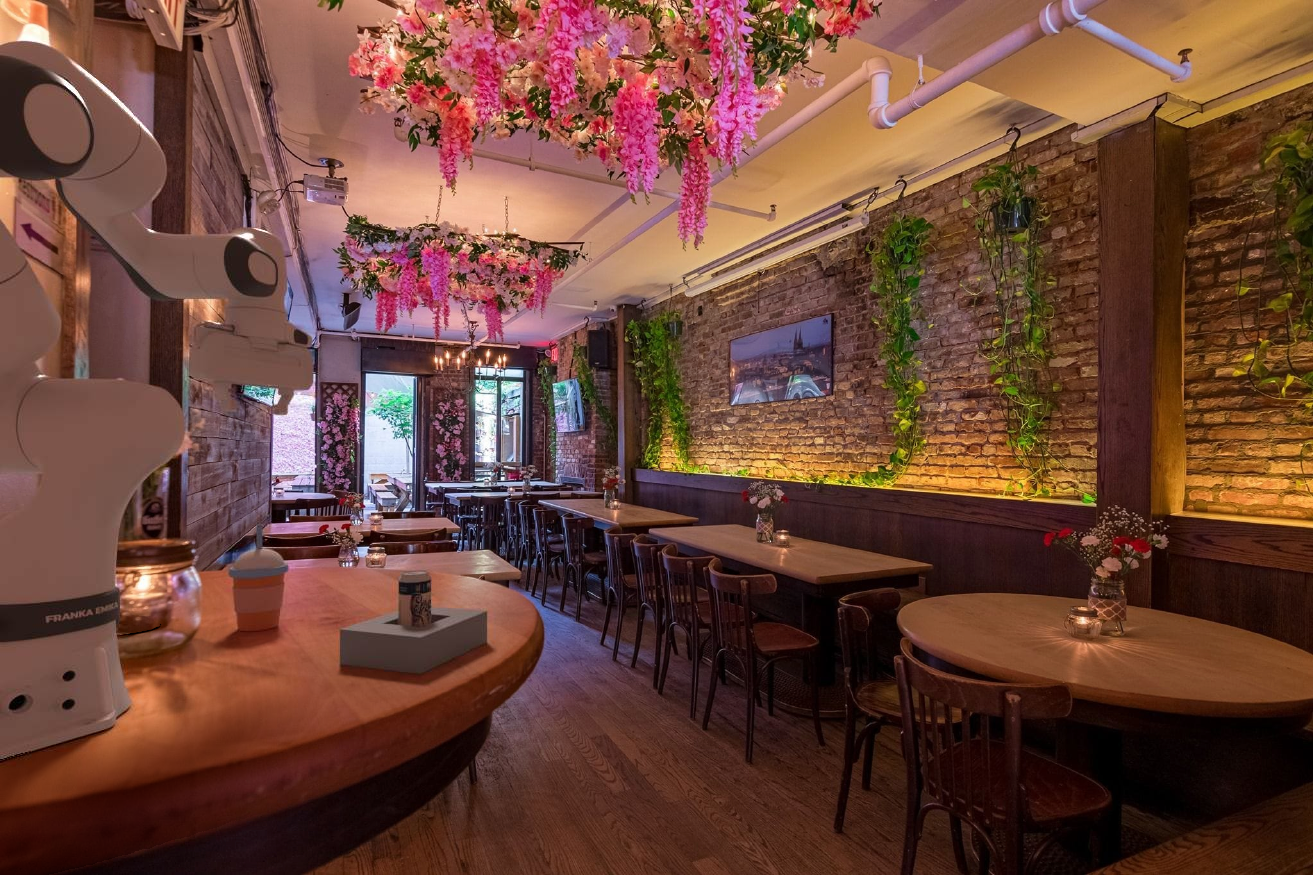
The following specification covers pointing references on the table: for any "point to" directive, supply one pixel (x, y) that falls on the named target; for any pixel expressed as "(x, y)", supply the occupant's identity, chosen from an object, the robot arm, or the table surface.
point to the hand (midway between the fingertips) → (255, 413)
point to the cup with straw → (258, 587)
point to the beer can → (414, 598)
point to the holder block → (412, 640)
